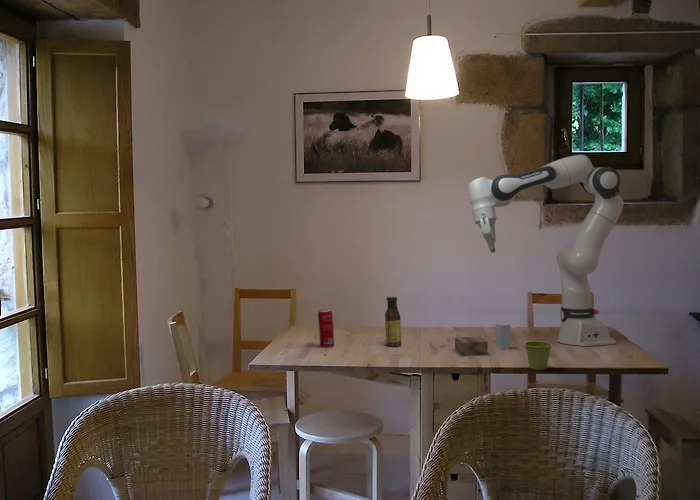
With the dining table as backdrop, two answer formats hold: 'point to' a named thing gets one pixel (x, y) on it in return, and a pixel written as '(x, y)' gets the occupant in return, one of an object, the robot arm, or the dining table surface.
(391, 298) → the sauce bottle
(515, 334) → the dining table surface
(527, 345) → the plant pot
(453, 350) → the grey mat
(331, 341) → the beverage can
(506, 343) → the pillar block
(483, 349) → the walnut base block
